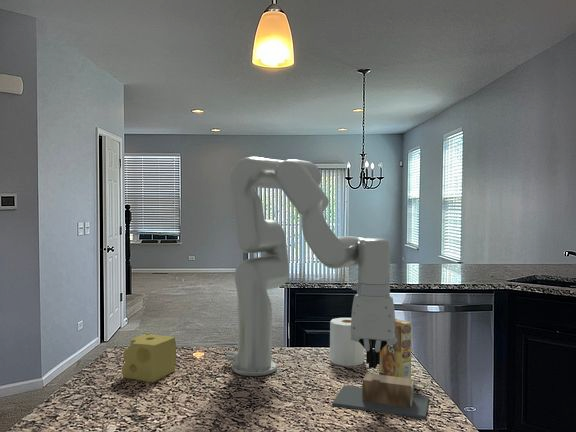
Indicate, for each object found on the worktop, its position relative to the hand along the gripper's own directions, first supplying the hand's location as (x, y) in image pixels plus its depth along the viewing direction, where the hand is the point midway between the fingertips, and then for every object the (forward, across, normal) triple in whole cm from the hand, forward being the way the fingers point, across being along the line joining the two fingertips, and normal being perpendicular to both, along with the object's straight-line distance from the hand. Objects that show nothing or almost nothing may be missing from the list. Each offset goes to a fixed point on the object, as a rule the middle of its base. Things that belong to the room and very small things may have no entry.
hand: (373, 366), depth 117 cm
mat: (+8, +2, 0) cm, 8 cm away
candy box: (+8, +2, +20) cm, 22 cm away
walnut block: (+5, -2, 0) cm, 5 cm away
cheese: (+8, -60, -3) cm, 61 cm away
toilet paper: (+8, -12, +28) cm, 32 cm away
